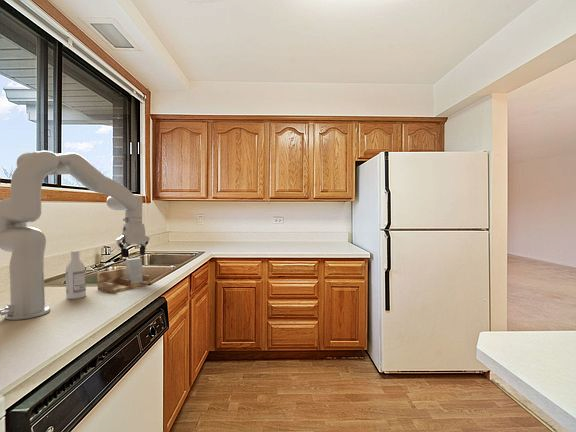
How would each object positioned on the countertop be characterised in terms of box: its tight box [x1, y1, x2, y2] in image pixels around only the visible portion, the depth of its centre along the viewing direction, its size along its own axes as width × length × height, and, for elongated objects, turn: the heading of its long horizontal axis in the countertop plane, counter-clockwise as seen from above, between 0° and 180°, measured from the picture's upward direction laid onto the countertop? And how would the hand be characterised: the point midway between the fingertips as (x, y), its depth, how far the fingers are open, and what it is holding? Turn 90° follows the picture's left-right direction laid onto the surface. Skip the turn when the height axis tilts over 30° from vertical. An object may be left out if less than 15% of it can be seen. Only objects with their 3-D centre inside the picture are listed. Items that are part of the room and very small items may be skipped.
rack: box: [96, 267, 152, 294], centre depth 153 cm, size 20×11×8 cm, turn 150°
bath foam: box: [65, 250, 87, 300], centre depth 135 cm, size 7×7×20 cm
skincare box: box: [125, 257, 143, 284], centre depth 155 cm, size 6×4×12 cm
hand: (133, 255), depth 154 cm, fingers open, 9 cm apart
